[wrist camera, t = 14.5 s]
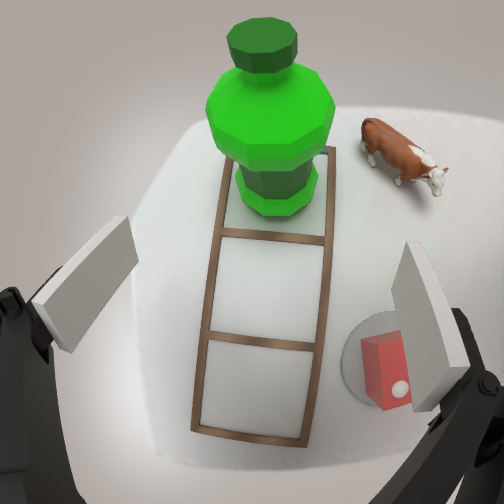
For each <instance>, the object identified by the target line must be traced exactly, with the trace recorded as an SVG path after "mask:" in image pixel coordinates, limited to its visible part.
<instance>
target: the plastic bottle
mask: <svg viewBox="0 0 504 504" xmlns="http://www.w3.org/2000/svg"><path fill="white" fill-rule="evenodd" d="M227 41H228V45H229V49H230V54H231V57H232V59H233V61H234V63H235V66H236V67H235V68H233V69H231V70H229V71H228V72H226V73H224V74H222V76H221V78H220V79H219V81H218V82H217V84H216V86H215V87H214V89H213V91H212V92H211V94H210V96H209V98H208V99H207V104H206V109H205V110H206V114H207V117H208V121H209V124H210V128H211V131H212V135H213V139H214V141H215V143H216V146H217V148H218V149H219V150H220V151H221V152H222V153H223V154H225V155H226V156H228V157H230V158H231V159H233V160H234V161H236V162H238V163H239V168H238V170H237V172H236V175H235V178H236V181H237V184H238V187H239V191H240V194H241V197H242V200H243V202H244V203H246V204H247V205H249V206H250V207H251V208H253V209H254V210H256V211H257V212H259V213H260V214H261V215H263V216H290V215H292V214H293V213H295V212H296V211H298V210H299V209H301V208H302V207H304V206H305V205H307V204H308V203H310V202H311V199H312V195H313V192H314V189H315V186H316V183H317V179H318V174H317V172H316V169H315V167H314V164H313V162H312V160H313V157H314V156H316V155H317V154H319V153H321V151H322V150H323V148H324V147H325V145H326V141H327V138H328V135H329V131H330V128H331V124H332V121H333V117H334V113H335V108H336V106H335V104H334V102H333V99H332V97H331V95H330V93H329V92H328V90H327V88H326V87H325V85H324V83H323V82H322V80H321V79H320V77H319V75H318V74H317V73H316V72H315V71H313V70H311V69H309V68H306V67H304V66H302V65H300V64H297V63H295V62H294V59H295V57H296V55H297V32H296V31H295V30H294V28H293V27H292V26H291V24H290V23H288V22H285V21H282V20H279V19H276V18H272V17H269V18H252V19H249V20H246V21H244V22H241V23H239V24H237V25H235V26H234V27H233V28H232V29H231V31H230V32H229V33H228V35H227Z"/></svg>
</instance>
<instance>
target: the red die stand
mask: <svg viewBox="0 0 504 504" xmlns="http://www.w3.org/2000/svg"><path fill="white" fill-rule="evenodd" d="M341 370H342V375H343V378H344V381H345V383H346V385H347V386H348V388H349V389H350V391H351V392H352V393H353V394H354V395H355V396H356V397H357V398H358V399H359V400H361V401H363V402H364V403H366V404H369V405H373V406H379V407H380V408H381V409H382V410H383V411H385V410H389V409H392V408H396V407H399V406H402V405H405V404H408V403H412V396H411V389H410V382H409V375H408V368H407V362H406V357H405V351H404V345H403V340H402V335H401V330H400V325H399V321H398V316H397V312H396V311H390V312H381V313H378V314H375V315H372V316H370V317H368V318H367V319H365V320H364V321H362V322H361V323H360V324H359V325H358V326H357V327H356V328H355V329H354V330H353V331H352V333H351V334H350V336H349V337H348V339H347V341H346V343H345V346H344V349H343V353H342V358H341Z"/></svg>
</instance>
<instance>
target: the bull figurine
mask: <svg viewBox="0 0 504 504" xmlns="http://www.w3.org/2000/svg"><path fill="white" fill-rule="evenodd" d="M361 133H362V140H361V147H362V149H363V151H366V150H367V152H368V162H370V166H371V167H372V168H375V167H377V165H376V161H375V160H374V157H373V154H374V152H375V151H377V150H378V151H380V153H381V155H382V157H383V158H384V160H385V161H386V162H387V163H388V164H389V165H391V166H392V167H395V168H397V169H399V170H400V171H402V173H401V174H400V176H399V177H397V178H395V179H394V181H395V184H396V186H397V187H400V186H401V181H405V180H410V181H411V182H412V183H414V182H415V181H416V179H417V180H422V181H424V182H427V184H428V186H429V187H430V188H431V189H432V195H433V196H435V197H438V196H441V195H442V191H441V190H442V187H443V185H444V182H445V177H444V173H446V172H447V170H448V168H445V169H443V170H440V169H439V168H438V167H437V165H436V163H435V161H434V160H433V158H432V157H430V156H429V155H427V154H426V153H425V152H424V150H422V149H421V148H420V147H418V146H417V145H415V144H414V143H413V142H411V141H410V140H409V139H407V138H406V137H405V136H403V135H402V134H400V133H399V132H397V131H396V130H395V129H393V128H392V127H391V126H389V125H388V124H386V123H385V122H383V121H381V120H379V119H376V118H367V119H365V120H364V121H363V123H362V127H361ZM367 144H368V145H367Z"/></svg>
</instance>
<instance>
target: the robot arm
mask: <svg viewBox="0 0 504 504" xmlns="http://www.w3.org/2000/svg"><path fill="white" fill-rule="evenodd" d="M138 262H139V260H138V257H137V253H136V249H135V245H134V241H133V237H132V232H131V228H130V224H129V220H128V216H115V217H114V218H113V219H112V220H110V221H109V222H108V223H107V224H106V225H105V226H104V227H103V228H102V229H101V230H100V231H99V232H97V233H96V234H95V235H94V236H93V237H92V238H91V239H90V240H89V241H88V242H87V243H86V244H85V245H84V246H83V247H82V248H81V249H80V250H79V251H78V252H77V253H76V254H75V255H74V256H73V257H72V258H71V259H70V260H69V261H68V262H67V263H66V264H65V265H63V266H62V267H60V268H58V269H57V270H56V271H55V272H54V273H53V274H52V275H51V276H50V278H49V279H48V280H47V281H46V282H45V284H43V285H42V286H41V287H40V288H39V289H38V290H37V292H36V293H35V294H34V295H33V296H32V297H31V298H30V299H29V301H28V302H27V303H25V301H24V299H23V298H22V296H21V294H20V292H19V290H18V289H17V288H16V287H8V288H6V289H4V290H3V291H2V292H0V504H86V502H85V500H84V499H83V498H82V497H81V496H80V494H79V493H78V491H77V489H76V486H75V483H74V479H73V475H72V472H71V468H70V464H69V460H68V455H67V451H66V446H65V442H64V437H63V432H62V426H61V420H60V414H59V407H58V399H57V390H56V382H55V369H54V353H53V348H52V346H51V342H52V341H53V340H54V341H55V342H56V344H57V345H58V347H59V348H60V349H62V350H64V351H67V352H69V353H72V352H73V351H74V349H75V348H76V347H77V345H78V343H79V342H80V341H81V339H82V338H83V336H84V335H85V333H86V332H87V330H88V329H89V327H90V326H91V325H92V323H93V322H94V320H95V319H96V318H97V316H98V315H99V313H100V312H101V311H102V309H103V308H104V306H105V305H106V304H107V302H108V301H109V300H110V298H111V297H112V296H113V294H114V293H115V292H116V290H117V289H118V287H119V286H120V285H121V284H122V282H123V281H124V280H125V278H126V277H127V276H128V274H129V273H130V272H131V271H132V269H133V268H134V267H135V266H136V264H137V263H138ZM391 291H392V295H393V299H394V303H395V307H396V312H397V316H398V321H399V325H400V330H401V335H402V340H403V345H404V351H405V357H406V362H407V368H408V375H409V382H410V389H411V396H412V405H413V412H425V411H432V410H433V409H434V408H435V407H436V406H437V405H438V404H440V410H441V412H440V413H439V414H438V415H437V416H436V417H435V418H434V419H433V420H432V421H431V422H430V423H429V424H428V426H430V425H431V426H430V427H429V429H428V430H427V432H426V433H425V435H424V436H423V438H422V439H421V440H420V442H419V443H418V445H417V446H416V447H415V449H414V450H413V451H412V453H411V454H410V455H409V457H408V458H407V459H406V461H405V462H404V463H403V465H402V466H401V467H400V468H399V469H398V471H397V472H396V473H395V475H394V476H393V477H392V478H391V479H390V480H389V481H388V483H387V484H386V485H385V486H384V487H383V488H382V490H381V491H380V492H379V493H378V494H377V495H376V496H375V497H374V498H373V499H372V500H371V501H370V502H369V504H446V502H447V501H448V499H449V498H450V496H451V495H452V493H453V492H454V490H455V489H456V487H457V485H458V484H459V482H460V480H461V479H462V477H463V475H464V477H463V480H462V483H461V486H460V488H459V491H458V494H457V496H456V499H455V501H454V504H504V386H501V385H500V382H499V380H498V378H497V377H496V376H495V375H494V374H493V373H491V372H489V371H487V370H485V367H484V364H483V361H482V358H481V355H480V352H479V349H478V346H477V343H476V341H475V339H474V335H473V332H472V331H471V327H470V325H469V322H468V320H467V318H466V316H465V315H464V314H463V313H462V311H461V310H460V309H459V308H450V305H449V303H448V300H447V298H446V295H445V293H444V291H443V288H442V286H441V284H440V281H439V279H438V277H437V275H436V272H435V270H434V268H433V266H432V264H431V262H430V259H429V257H428V255H427V253H426V251H425V249H424V247H423V245H422V243H419V242H411V241H406V244H405V248H404V251H403V254H402V258H401V261H400V264H399V267H398V270H397V273H396V276H395V279H394V282H393V285H392V288H391Z"/></svg>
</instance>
